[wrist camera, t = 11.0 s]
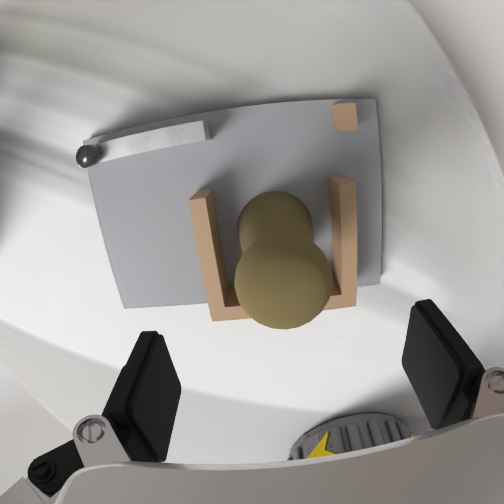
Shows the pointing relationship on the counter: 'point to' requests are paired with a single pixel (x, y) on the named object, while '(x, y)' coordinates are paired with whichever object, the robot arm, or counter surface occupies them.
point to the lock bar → (143, 142)
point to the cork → (280, 263)
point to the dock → (241, 200)
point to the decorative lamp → (350, 435)
